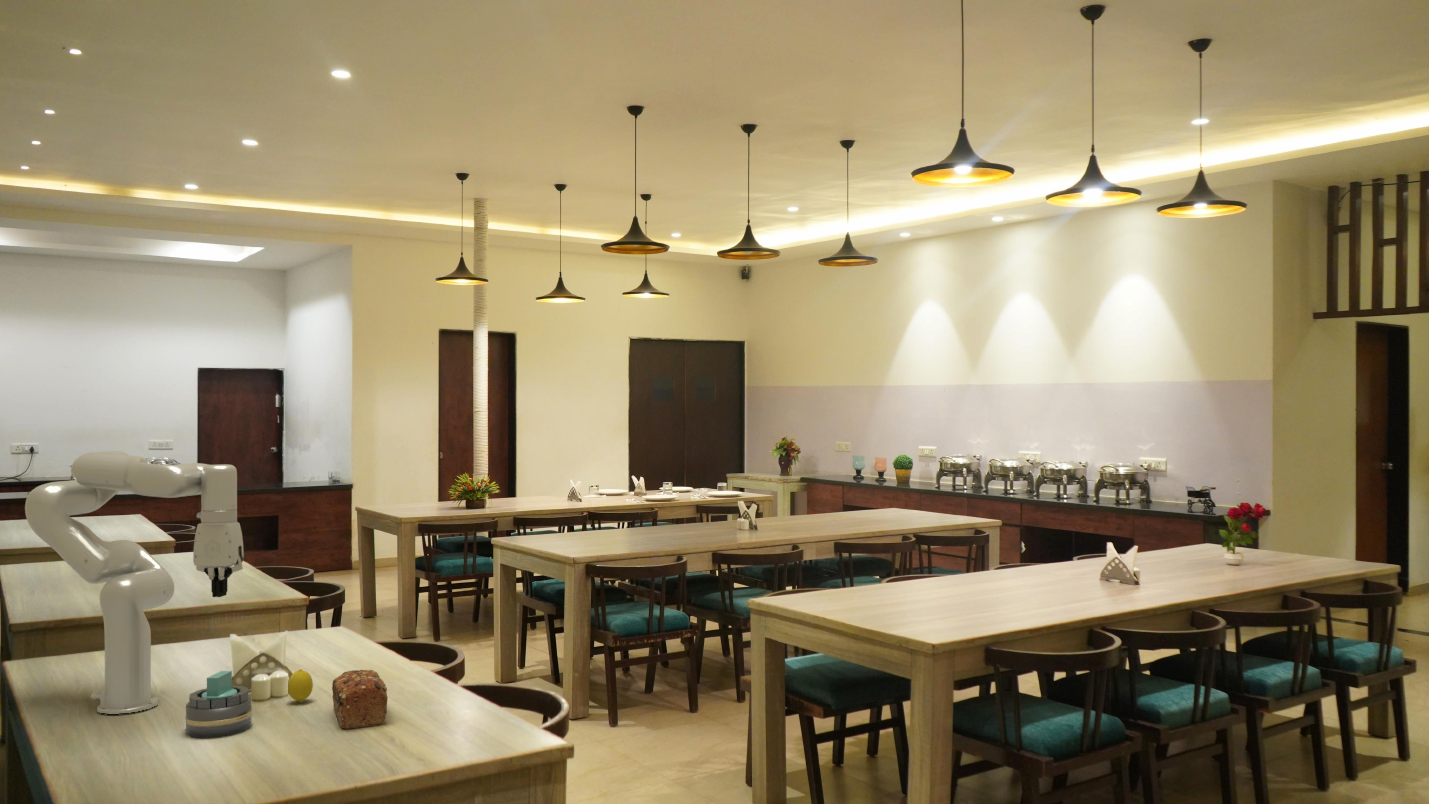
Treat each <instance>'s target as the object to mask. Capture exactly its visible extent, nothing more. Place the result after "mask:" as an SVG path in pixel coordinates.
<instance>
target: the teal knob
mask: <svg viewBox="0 0 1429 804" xmlns="http://www.w3.org/2000/svg"><path fill="white" fill-rule="evenodd" d="M232 686H233V673H232V670H220V671H219V672H216V673H215V674H212V675H210V676H208V677H206V688H207V692H204V693H203V694H202V698H220V697H227V696H231V695H235V694H237V690H236V689H232Z"/></svg>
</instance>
